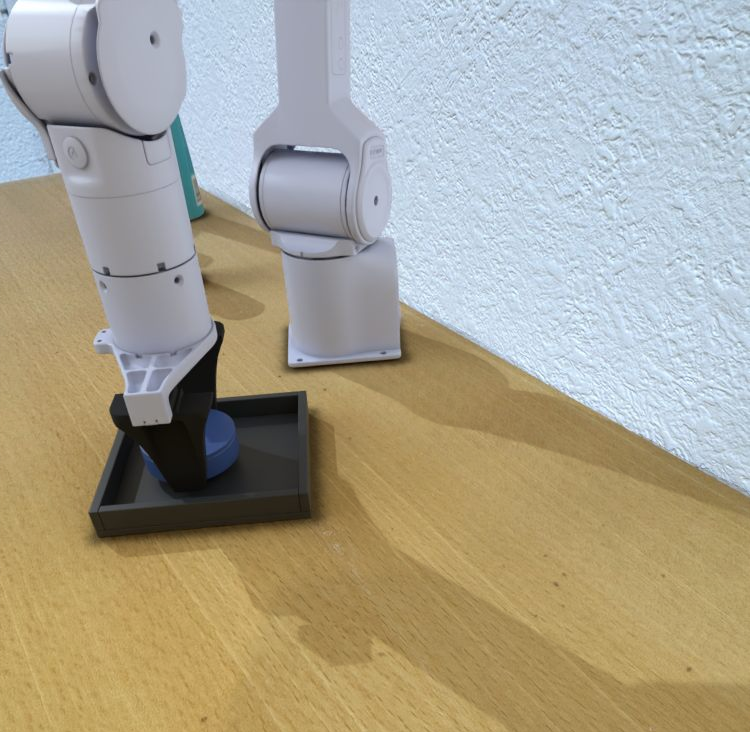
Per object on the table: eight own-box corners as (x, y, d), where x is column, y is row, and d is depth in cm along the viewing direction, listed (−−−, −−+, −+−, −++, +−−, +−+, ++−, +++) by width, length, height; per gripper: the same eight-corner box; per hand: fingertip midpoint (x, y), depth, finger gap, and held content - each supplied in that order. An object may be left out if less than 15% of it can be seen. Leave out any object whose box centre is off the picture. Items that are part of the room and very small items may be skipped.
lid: (136, 488, 44) (129, 465, 43) (154, 433, 49) (147, 411, 48) (235, 480, 44) (230, 457, 43) (243, 426, 49) (238, 404, 48)
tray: (309, 412, 53) (306, 390, 51) (311, 517, 43) (308, 492, 42) (133, 428, 52) (126, 405, 51) (97, 537, 43) (87, 513, 41)
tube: (159, 212, 93) (119, 41, 81) (194, 205, 95) (159, 37, 82) (178, 227, 88) (137, 47, 76) (213, 219, 90) (180, 42, 77)
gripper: (99, 220, 44) (153, 405, 52) (31, 320, 33) (114, 534, 41) (212, 212, 44) (247, 397, 53) (183, 308, 33) (233, 523, 41)
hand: (196, 457), depth 47 cm, fingers closed on lid, 6 cm apart
